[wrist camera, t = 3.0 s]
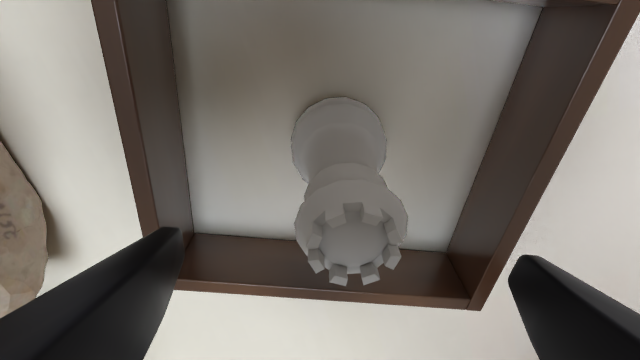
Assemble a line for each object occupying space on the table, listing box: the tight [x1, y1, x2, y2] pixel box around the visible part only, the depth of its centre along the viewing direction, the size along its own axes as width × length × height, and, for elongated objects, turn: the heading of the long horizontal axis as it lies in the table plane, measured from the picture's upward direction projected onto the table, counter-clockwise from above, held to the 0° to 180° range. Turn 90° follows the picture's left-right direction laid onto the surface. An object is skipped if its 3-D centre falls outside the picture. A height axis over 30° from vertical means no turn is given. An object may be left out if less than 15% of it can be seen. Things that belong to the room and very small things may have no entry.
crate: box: [91, 0, 640, 311], centre depth 13 cm, size 17×15×4 cm
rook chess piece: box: [291, 97, 408, 286], centre depth 11 cm, size 4×4×8 cm
